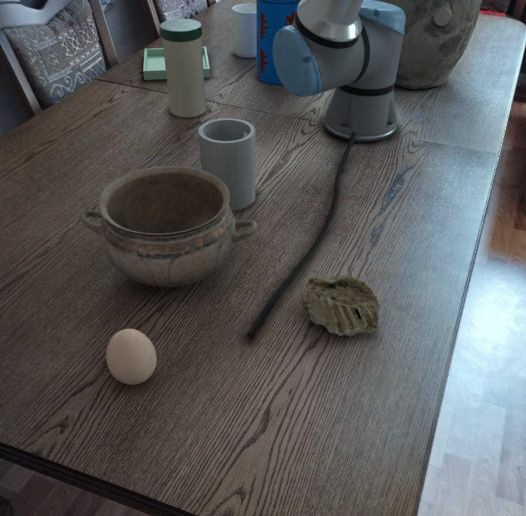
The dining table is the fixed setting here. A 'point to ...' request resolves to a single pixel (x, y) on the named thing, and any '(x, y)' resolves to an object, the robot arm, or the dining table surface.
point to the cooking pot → (167, 225)
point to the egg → (131, 357)
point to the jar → (185, 77)
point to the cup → (230, 157)
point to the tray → (156, 64)
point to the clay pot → (433, 39)
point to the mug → (244, 30)
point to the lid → (181, 30)
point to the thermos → (271, 33)
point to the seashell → (341, 305)
